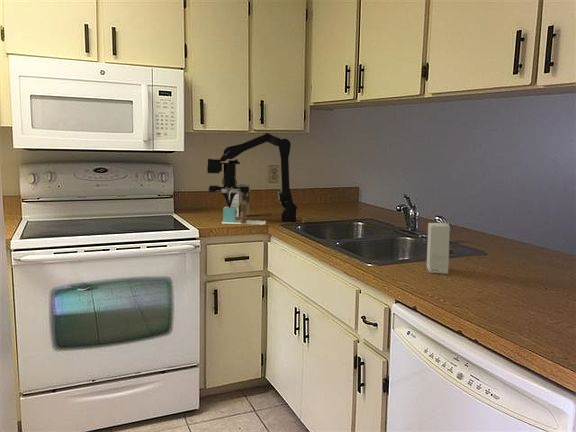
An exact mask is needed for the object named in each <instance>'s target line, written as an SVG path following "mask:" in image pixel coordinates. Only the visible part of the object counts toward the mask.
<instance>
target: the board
mask: <svg viewBox="0 0 576 432" xmlns="http://www.w3.org/2000/svg"><path fill="white" fill-rule="evenodd" d="M266 222H267V220H247V219H246V224H245V225H261V226H262V225H266ZM221 224H227V225H229V224H230V225H231V224H233V225H236V224H237V225H242V224H241V219H236V221H235V222H223V221H222V222H221Z"/></svg>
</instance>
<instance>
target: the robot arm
mask: <svg viewBox="0 0 576 432" xmlns="http://www.w3.org/2000/svg"><path fill="white" fill-rule="evenodd" d="M265 143H269V144H271V145H273V146H276V148H277V153H278V157H279V167H280V191H277V201H278V202H279V204H280V205H281V206H282V208H283V209H282V212H281V222H283V223H297V209H298V206H297V205H296V204H295V203H294V200H293V195H292V192H291V188H290V167H289V161H290V160H289V157H290V153H291V148H292V146H291V145H292V143H291V141H290V140H289V139H288V138H281V137H278V136H276V135H273V134H271V133H268V132H265V133H263V134H262V135H259V136H257V137H254V138H252V139H250V140H246V141H244V142H242V143H238V144H233V145H229V146H226V147H225V148H224V149H223V151H222V152H223V153H222V155H221V156H220V157H219V158H218V159H217V158H215V159H214V158H207V166H206V167H207V168H206V171H207V172H206V173H207V174H208V175H209V174H215V175H217V174H219V175H220V172H223V174H222V175H223V177H222V180H221V183H222V186H220V185H219V184H210V185H209V186H208V192H209V193H216V192H218V191H221V192H220V194H221V195H223V197H224V199H225V201H226V204H227V207H231V204H232V201H233V198H234V196H235V194H238V191H241V192H242V193H249V194H250V192H251V186H250V185H249V186H241V187H237V185H238V179H237V165H240V164H241V162H240V161H239V160H238V159H237V157H238V156H239V155H241V154H243V152H245V151H247V150H250V149H251V150H252V149H254V148H255V147H257V146H260V145H262V144H265ZM232 159H233V160H232ZM227 160H228V162H225V161H227ZM229 191H232V192H231V193H230V200H229Z"/></svg>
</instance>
